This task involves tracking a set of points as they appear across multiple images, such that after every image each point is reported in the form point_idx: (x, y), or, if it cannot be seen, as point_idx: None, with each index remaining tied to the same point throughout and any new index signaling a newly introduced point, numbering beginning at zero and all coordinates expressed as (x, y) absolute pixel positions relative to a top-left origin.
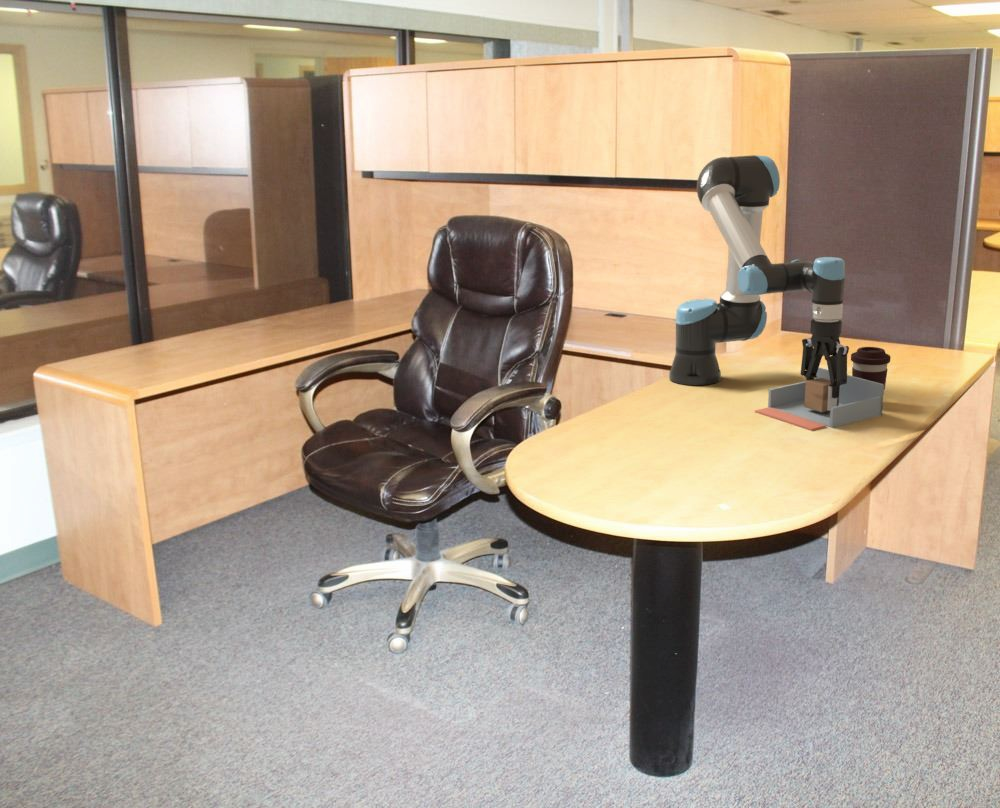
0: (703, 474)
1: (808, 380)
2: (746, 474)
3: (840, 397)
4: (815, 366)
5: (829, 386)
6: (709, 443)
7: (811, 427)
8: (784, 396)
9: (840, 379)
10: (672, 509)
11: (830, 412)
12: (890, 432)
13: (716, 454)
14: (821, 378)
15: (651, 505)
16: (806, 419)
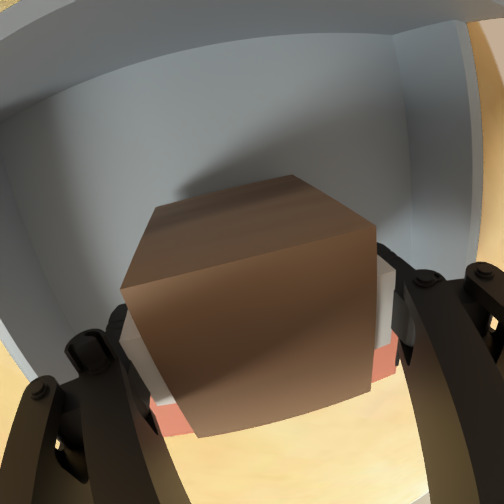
0: (387, 488)
1: (189, 422)
2: (422, 460)
3: (138, 53)
4: (179, 498)
5: (380, 344)
6: (299, 495)
7: (387, 370)
8: (63, 355)
9: (498, 347)
10: (419, 490)
11: None
12: (491, 135)
13: (347, 488)
14: (152, 313)
15: (402, 500)
16: None
